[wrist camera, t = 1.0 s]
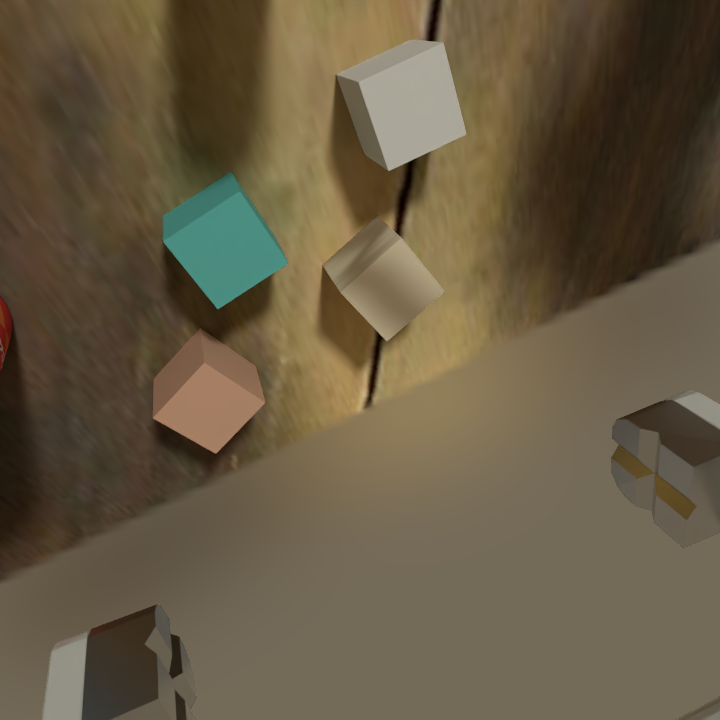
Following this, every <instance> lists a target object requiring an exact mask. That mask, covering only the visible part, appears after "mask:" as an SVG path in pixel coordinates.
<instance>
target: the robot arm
mask: <svg viewBox="0 0 720 720" xmlns="http://www.w3.org/2000/svg"><path fill="white" fill-rule="evenodd" d="M612 439H613V440H615V441H616V442H617V443H618V444H619V446H618V447H617V449H616V451H615V452H614V454H613V456H612V459H611V462H612V474H613V477H614V479H615V481H616V484H617V486H618V488H619V489H620V490H621V492H622V493H623V494H624V496H625V497H626V498H627V499H628V500H629V501H630V502H632V503H633V504H634V505H635V506H638V507H641V508H644V509H648V510H651V511H652V514H653V520H654V523H655V524H656V525H657V526H659V527H660V528H661V529H662V530H663V531H664V532H665V533H667V534H668V535H669V536H670V537H671V538H672V539H673V540H675V541H676V542H677V543H678V544H679V545H680V546H681V547H682V548H685V547H688V546H690V545H692V544H695V543H697V542H700V541H702V540H704V539H707V538H709V537H711V536H714V535H716V534H718V533H720V404H718V403H716V402H715V401H713V400H711V399H709V398H708V397H706V396H704V395H703V394H701V393H699V392H696V391H691V390H687V391H685V392H682V393H680V394H677V395H675V396H672V397H670V398H668V399H665V400H664V401H661V402H658V403H655V404H653V405H651V406H648V407H646V408H643V409H641V410H639V411H636V412H634V413H631V414H629V415H626V416H624V417H622V418H619V419H617V420H616V422H615V424H614V426H613V430H612ZM195 700H196V689H195V681H194V676H193V672H192V668H191V664H190V660H189V657H188V654H187V652H186V649H185V647H184V645H183V643H182V641H181V639H180V637H178V636H175V635H172V634H171V633H170V621H169V617H168V616H167V614H166V612H165V611H164V609H163V607H162V606H161V605H154V606H152V607H149V608H146V609H144V610H141V611H138V612H136V613H133V614H130V615H128V616H125V617H122V618H120V619H117V620H114V621H111V622H109V623H106V624H103V625H101V626H98V627H96V628H93V629H91V630H89V631H87V632H84V633H82V634H79V635H76V636H74V637H71V638H68V639H65V640H63V641H60V642H57V643H56V644H55V646H54V648H53V650H52V652H51V654H50V662H49V668H48V676H47V683H46V691H45V698H44V706H43V712H42V720H196V719H195V717H194V715H193V714H192V712H191V708H192V706H193V704H194V702H195ZM676 720H720V696H719V697H717V698H716V699H714V700H712V701H710V702H708V703H706V704H704V705H702V706H701V707H699V708H697V709H695V710H693V711H691V712H689V713H687V714H685V715H683V716H682V717H680V718H678V719H676Z"/></svg>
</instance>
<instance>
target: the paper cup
mask: <svg viewBox="0 0 720 720" xmlns="http://www.w3.org/2000/svg"><path fill="white" fill-rule="evenodd" d="M11 333H12V317H11V313H10V310H9V308H8V306H7V305H6V303H5V302H4V300H3V299H2V298H1V297H0V372H1V368H2V365H3V362H4V359H5V355H6V352H7V349H8V345H9V341H10V338H11Z"/></svg>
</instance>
